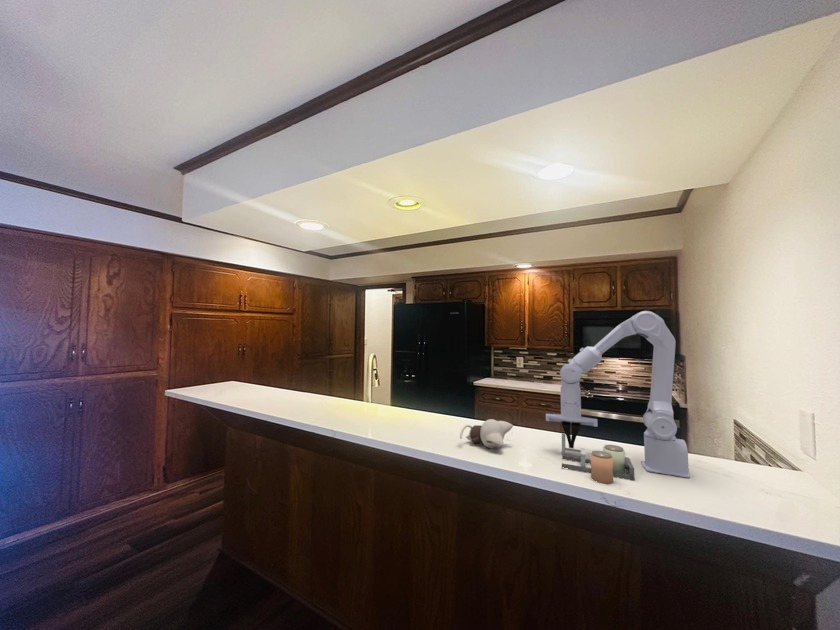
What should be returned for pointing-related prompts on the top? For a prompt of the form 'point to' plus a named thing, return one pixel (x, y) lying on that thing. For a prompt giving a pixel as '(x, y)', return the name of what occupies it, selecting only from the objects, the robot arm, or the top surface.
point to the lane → (628, 468)
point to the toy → (488, 433)
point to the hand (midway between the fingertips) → (571, 447)
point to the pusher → (582, 451)
